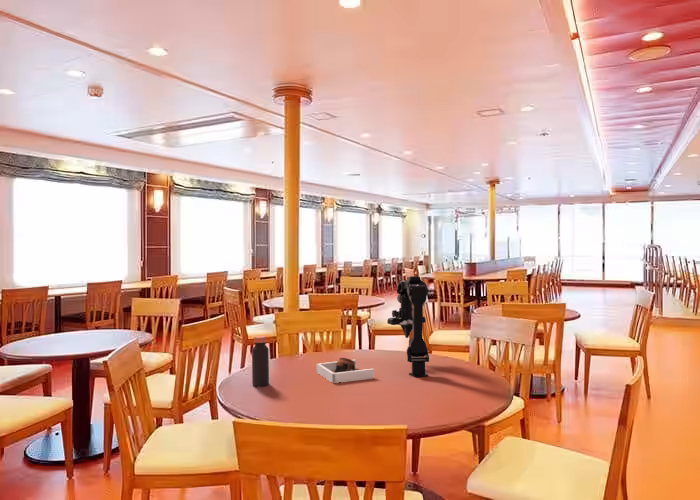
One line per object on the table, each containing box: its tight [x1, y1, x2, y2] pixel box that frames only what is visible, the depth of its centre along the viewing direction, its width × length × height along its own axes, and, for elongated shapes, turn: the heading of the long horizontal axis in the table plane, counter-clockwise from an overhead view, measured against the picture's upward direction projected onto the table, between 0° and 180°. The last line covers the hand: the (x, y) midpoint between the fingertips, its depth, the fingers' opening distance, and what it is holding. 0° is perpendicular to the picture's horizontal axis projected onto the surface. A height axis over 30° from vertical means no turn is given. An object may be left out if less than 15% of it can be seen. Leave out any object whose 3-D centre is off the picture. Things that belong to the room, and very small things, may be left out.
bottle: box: [251, 335, 270, 387], centre depth 207 cm, size 7×7×20 cm
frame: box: [315, 359, 375, 384], centre depth 221 cm, size 20×19×4 cm
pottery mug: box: [333, 357, 356, 373], centre depth 223 cm, size 12×10×8 cm
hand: (406, 337), depth 245 cm, fingers closed
